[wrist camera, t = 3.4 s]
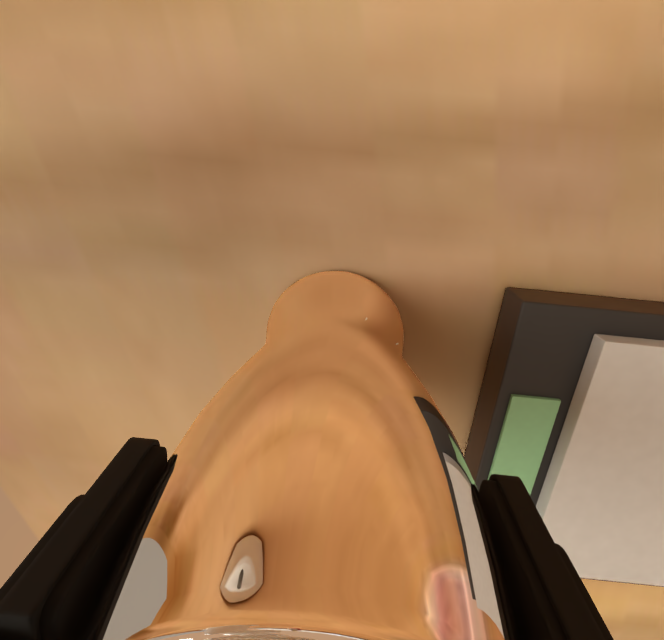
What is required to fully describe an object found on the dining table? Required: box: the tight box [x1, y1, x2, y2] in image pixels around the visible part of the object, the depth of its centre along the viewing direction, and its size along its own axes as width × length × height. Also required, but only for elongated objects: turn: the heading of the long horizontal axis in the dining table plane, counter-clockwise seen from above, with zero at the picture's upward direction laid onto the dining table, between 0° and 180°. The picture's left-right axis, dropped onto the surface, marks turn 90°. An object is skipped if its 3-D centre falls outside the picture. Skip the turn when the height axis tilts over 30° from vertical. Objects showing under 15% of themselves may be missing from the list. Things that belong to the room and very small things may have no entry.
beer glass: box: [79, 271, 523, 640], centre depth 12 cm, size 7×7×15 cm
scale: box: [464, 287, 664, 587], centre depth 19 cm, size 16×14×3 cm
